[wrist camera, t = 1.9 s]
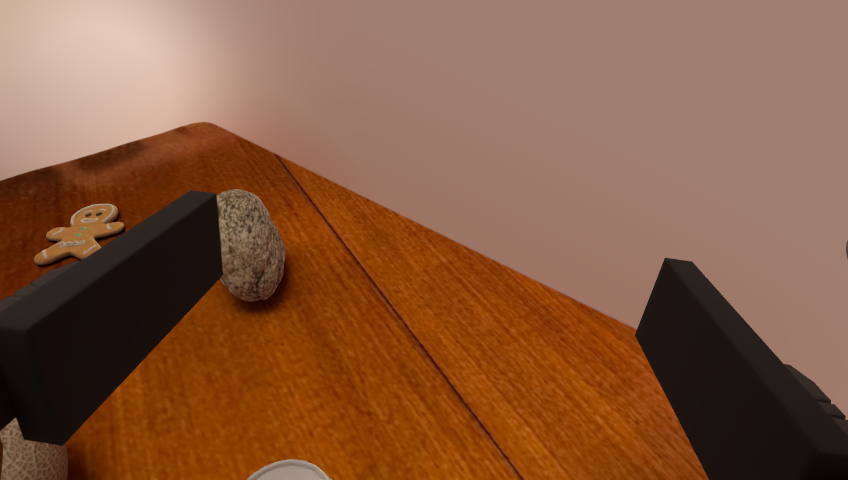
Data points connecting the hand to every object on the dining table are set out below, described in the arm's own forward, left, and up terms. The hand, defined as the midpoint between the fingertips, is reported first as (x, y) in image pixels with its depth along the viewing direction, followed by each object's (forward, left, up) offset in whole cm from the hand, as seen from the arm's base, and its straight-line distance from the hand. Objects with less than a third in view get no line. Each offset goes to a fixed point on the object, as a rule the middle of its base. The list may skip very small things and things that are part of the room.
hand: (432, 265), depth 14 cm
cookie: (+7, -49, -22) cm, 55 cm away
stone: (-3, -28, -23) cm, 36 cm away
